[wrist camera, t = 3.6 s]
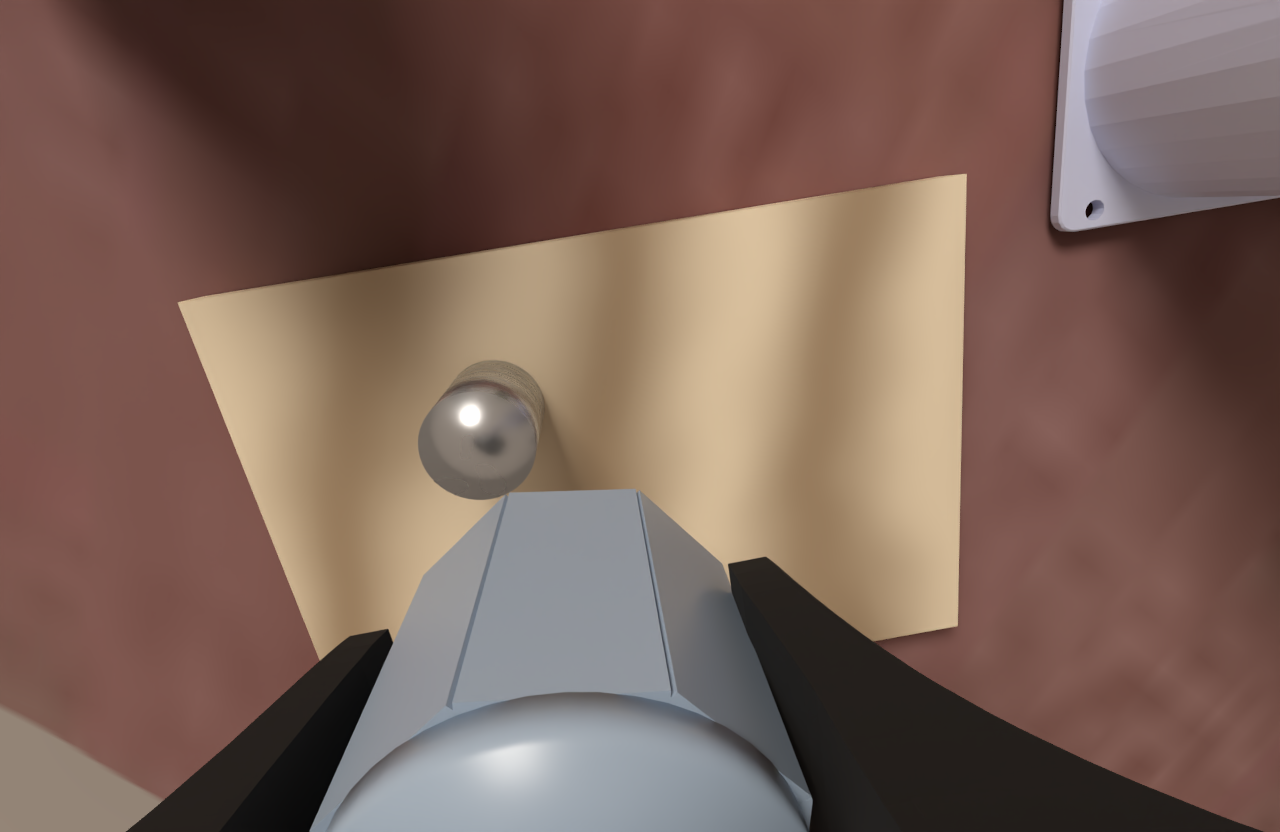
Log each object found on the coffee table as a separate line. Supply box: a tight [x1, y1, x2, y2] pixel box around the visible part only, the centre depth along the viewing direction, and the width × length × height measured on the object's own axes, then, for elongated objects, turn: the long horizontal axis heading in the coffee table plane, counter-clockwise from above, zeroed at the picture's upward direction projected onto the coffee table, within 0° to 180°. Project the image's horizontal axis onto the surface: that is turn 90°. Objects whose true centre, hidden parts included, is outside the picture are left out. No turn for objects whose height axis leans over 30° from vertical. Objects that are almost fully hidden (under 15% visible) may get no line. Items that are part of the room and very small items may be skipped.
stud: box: [418, 360, 545, 500], centre depth 15 cm, size 3×3×3 cm
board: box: [178, 174, 967, 660], centre depth 18 cm, size 20×14×1 cm
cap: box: [309, 489, 813, 832], centre depth 8 cm, size 5×5×5 cm
